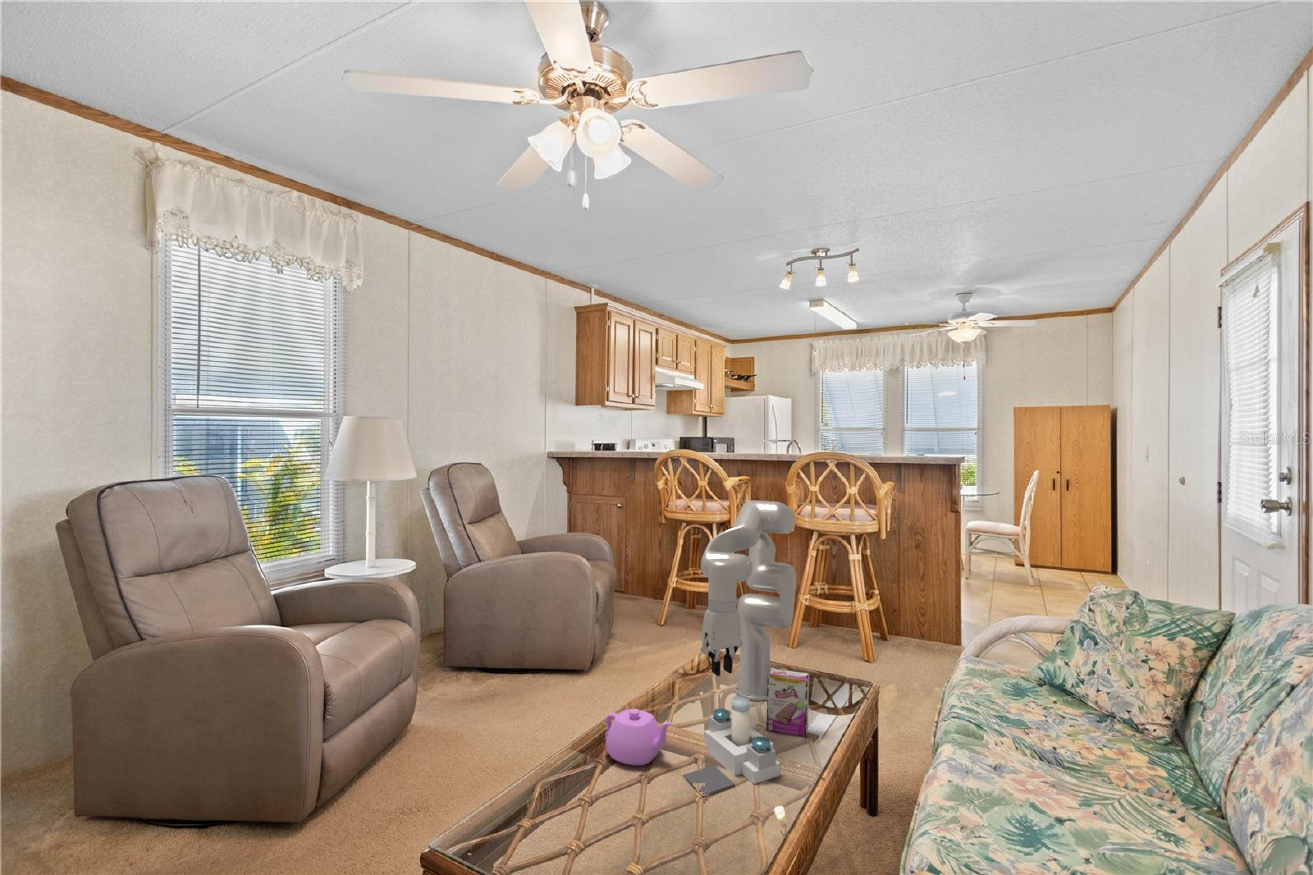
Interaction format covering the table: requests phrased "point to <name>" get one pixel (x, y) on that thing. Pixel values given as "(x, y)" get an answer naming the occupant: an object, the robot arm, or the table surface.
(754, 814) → the table surface
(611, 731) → the teapot
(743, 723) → the cylinder
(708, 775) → the mat
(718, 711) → the plunger
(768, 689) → the candy bar box
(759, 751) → the plunger
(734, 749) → the housing
